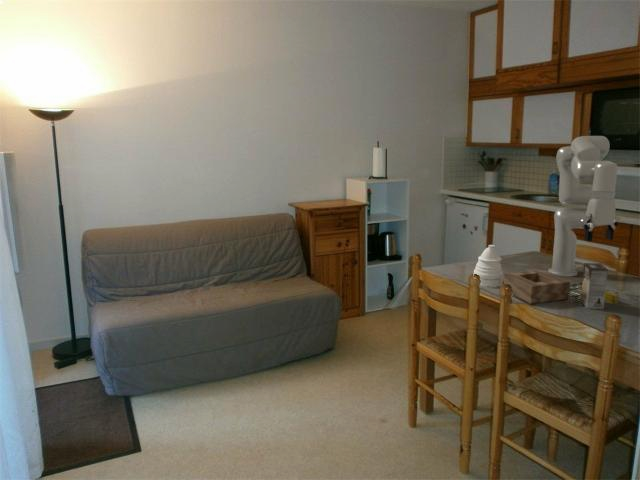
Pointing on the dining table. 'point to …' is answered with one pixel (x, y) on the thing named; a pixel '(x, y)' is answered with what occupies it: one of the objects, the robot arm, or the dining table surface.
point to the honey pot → (489, 268)
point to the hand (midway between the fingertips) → (598, 239)
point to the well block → (538, 287)
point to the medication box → (611, 297)
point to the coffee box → (594, 285)
